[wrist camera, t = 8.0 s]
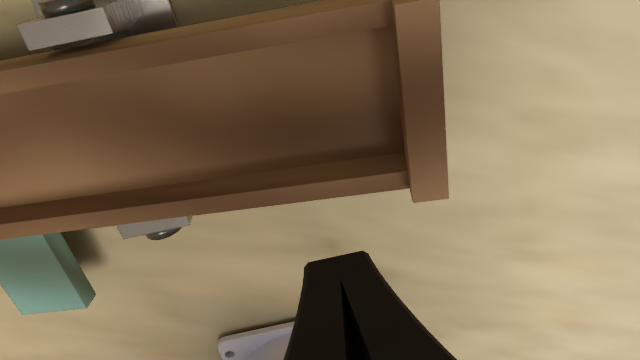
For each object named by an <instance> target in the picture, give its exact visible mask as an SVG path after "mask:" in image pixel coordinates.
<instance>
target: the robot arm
mask: <svg viewBox="0 0 640 360" xmlns="http://www.w3.org/2000/svg"><path fill="white" fill-rule="evenodd" d="M217 347H218V351H219V353H220V356H221V358H222V360H457V359H456V358H455V357H454V356H453V355H452V354H451V353H449V352H448V351H447V350H446V349H445V348H444V347H443V346H442V345H441V343H440V342H439V341H438V340H437V339H436V338H435V337H434V336H433V335H432V334H431V333H430V332H429V331H428V330H427V329H426V328H425V327H424V326H423V325H422V324H421V323H420V322H419V320H418V319H417V318H416V317H415V316H414V315H413V314H412V312H411V311H410V310H409V309H408V308H407V307H406V305H405V304H404V303H403V302H402V301H401V300H400V298H399V297H398V296H397V295H396V294H395V292H394V291H393V290H392V288H391V287H390V286H389V284H388V283H387V282H386V281H385V279H384V278H383V276H382V275H381V274H380V272H379V271H378V269H377V268H376V266H375V265H374V263H373V261H372V260H371V258H370V256H369V254H368V253H366V252H364V251H359V252H354V253H350V254H345V255H340V256H336V257H331V258H327V259H322V260H317V261H313V262H308V263H307V265H306V266H305V267H304V278H303V286H302V292H301V297H300V302H299V306H298V311H297V315H296V318H295V321H294V322H289V323H284V324H280V325H275V326H270V327H266V328H261V329H257V330H252V331H247V332H243V333H238V334H233V335H229V336H224V337H222V338H220V339H219V341H218V346H217ZM228 351H232V352H228Z"/></svg>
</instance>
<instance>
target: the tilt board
mask: <svg viewBox="0 0 640 360" xmlns="http://www.w3.org/2000/svg"><path fill="white" fill-rule="evenodd" d="M408 188H410V192H411V196H412V201H413V203H416V202H424V201H432V200H440V199H448V198H449V193H448V172H447V151H446V129H445V108H444V87H443V66H442V45H441V24H440V3H439V0H321V1H316V2H311V3H305V4H300V5H295V6H289V7H284V8H279V9H273V10H268V11H263V12H257V13H252V14H247V15H241V16H236V17H231V18H225V19H220V20H214V21H209V22H204V23H198V24H193V25H188V26H182V27H177V28H172V29H166V30H161V31H156V32H150V33H145V34H140V35H134V36H129V37H124V38H118V39H113V40H108V41H102V42H97V43H92V44H86V45H81V46H75V47H70V48H65V49H59V50H54V51H49V52H43V53H38V54H33V55H27V56H22V57H17V58H11V59H6V60H1V61H0V284H1V286H2V287H3V288H4V290H5V291H6V293H7V294H8V295H9V297H10V298H11V300H12V301H13V302H14V304H15V305H16V307H17V308H18V309H19V311H20V312H21V314H22V315H25V314H35V313H45V312H55V311H65V310H75V309H85V308H87V307H88V306H89V304H90V303H91V301H92V300H93V298H94V297H95V295H96V293H95V292H94V290H93V288H92V286H91V285H90V283H89V281H88V279H87V278H86V276H85V274H84V273H83V271H82V269H81V267H80V266H79V264H78V262H77V261H76V259H75V257H74V255H73V254H72V252H71V250H70V248H69V247H68V245H67V243H66V242H65V240H64V238H63V236H62V235H61V233H60V232H66V231H74V230H82V229H90V228H98V227H106V226H114V225H122V224H130V223H138V222H146V221H154V220H162V219H169V218H177V217H185V216H193V215H201V214H209V213H217V212H225V211H233V210H241V209H249V208H257V207H265V206H273V205H281V204H289V203H297V202H304V201H312V200H320V199H328V198H336V197H344V196H352V195H360V194H368V193H376V192H384V191H392V190H400V189H408Z"/></svg>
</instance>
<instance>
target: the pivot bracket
mask: <svg viewBox="0 0 640 360" xmlns="http://www.w3.org/2000/svg"><path fill="white" fill-rule="evenodd" d="M31 1H32V3H33V6H34V8H35V10H36V12H37V14H38V16H39V17H38V18H36V19H33V20H30V21H27V22H25V23H22V24H19V25H16V26H17V28H18V30H19V32H20V34H21V36H22V38H23V40H24V42H25V44H26V46H27V48H28V50H29V51H31V50H36V49H41V48H45V47H50V46H53V48H54V50H59V49H65V48H70V47H75V46H81V45H86V44H92V43H97V42H102V41H108V40H113V39H118V38H124V37H129V36H134V35H140V34H145V33H150V32H156V31H161V30H166V29H172V28H177V27H178V23H177V20H176V17H175V14H174V11H173V8H172V5H171V2H170V0H31ZM191 218H192V216H185V217H177V218H169V219H162V220H154V221H146V222H138V223H130V224H122V225H116V226H117V228H118V230H119V232H120V234H121V236H122V238H123V239H126V238H131V237H136V236H140V235H146V237H147V238H148V239H151V240H160V239H164V238H167V237H169V236H171V235H173V234H175V233H176V232H178V231H179V230H180V229H181V227H182V226H187V225H190V221H191Z"/></svg>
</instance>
